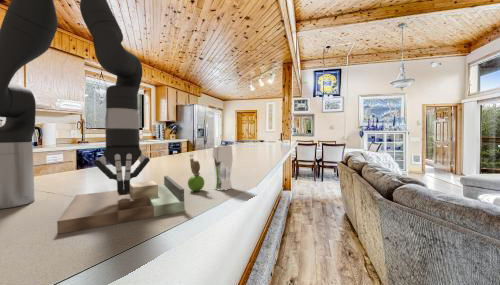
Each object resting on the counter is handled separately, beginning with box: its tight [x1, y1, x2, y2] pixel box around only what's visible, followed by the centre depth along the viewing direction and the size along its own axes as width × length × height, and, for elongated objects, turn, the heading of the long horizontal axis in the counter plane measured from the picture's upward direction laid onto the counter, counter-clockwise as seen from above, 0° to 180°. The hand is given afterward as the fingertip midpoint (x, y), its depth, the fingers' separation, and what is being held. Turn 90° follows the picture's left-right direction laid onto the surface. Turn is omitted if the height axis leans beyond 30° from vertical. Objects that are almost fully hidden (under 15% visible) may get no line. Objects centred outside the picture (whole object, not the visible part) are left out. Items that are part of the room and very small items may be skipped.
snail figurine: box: [187, 154, 205, 192], centre depth 75 cm, size 5×6×12 cm
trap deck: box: [56, 175, 185, 235], centre depth 57 cm, size 24×22×6 cm
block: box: [130, 180, 159, 199], centre depth 60 cm, size 6×6×3 cm
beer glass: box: [212, 145, 234, 191], centre depth 77 cm, size 7×7×15 cm
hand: (123, 194), depth 57 cm, fingers closed
